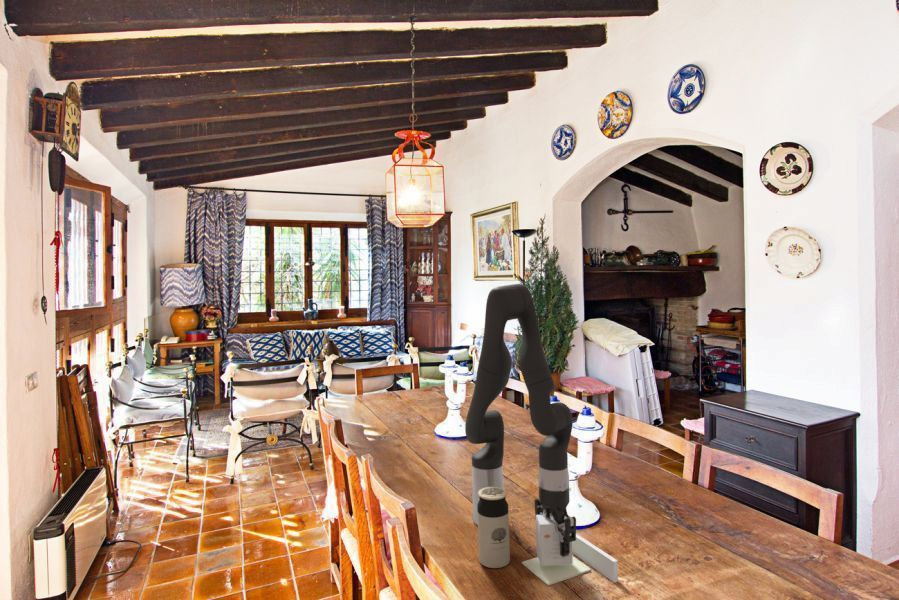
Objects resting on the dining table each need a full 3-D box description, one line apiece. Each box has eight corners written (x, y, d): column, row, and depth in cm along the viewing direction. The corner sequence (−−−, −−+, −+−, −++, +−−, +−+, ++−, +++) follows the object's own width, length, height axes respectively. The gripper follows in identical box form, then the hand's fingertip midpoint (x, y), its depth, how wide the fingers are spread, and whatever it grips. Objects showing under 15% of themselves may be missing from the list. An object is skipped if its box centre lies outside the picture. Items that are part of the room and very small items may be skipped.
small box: (566, 553, 133) (566, 512, 132) (573, 564, 127) (572, 522, 127) (536, 554, 132) (535, 514, 132) (540, 566, 127) (539, 524, 126)
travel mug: (477, 553, 137) (475, 487, 137) (506, 551, 138) (504, 485, 137) (481, 570, 129) (479, 499, 129) (512, 568, 130) (510, 497, 129)
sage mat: (521, 563, 132) (521, 561, 132) (562, 550, 138) (562, 549, 137) (548, 585, 122) (548, 584, 122) (591, 570, 128) (590, 569, 128)
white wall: (561, 545, 140) (560, 527, 140) (564, 544, 141) (564, 526, 141) (614, 582, 122) (613, 561, 122) (618, 581, 123) (617, 560, 123)
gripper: (524, 477, 134) (526, 539, 134) (559, 497, 121) (561, 566, 122) (548, 471, 137) (549, 532, 138) (584, 490, 124) (586, 558, 125)
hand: (555, 548), depth 130 cm, fingers closed on small box, 7 cm apart
